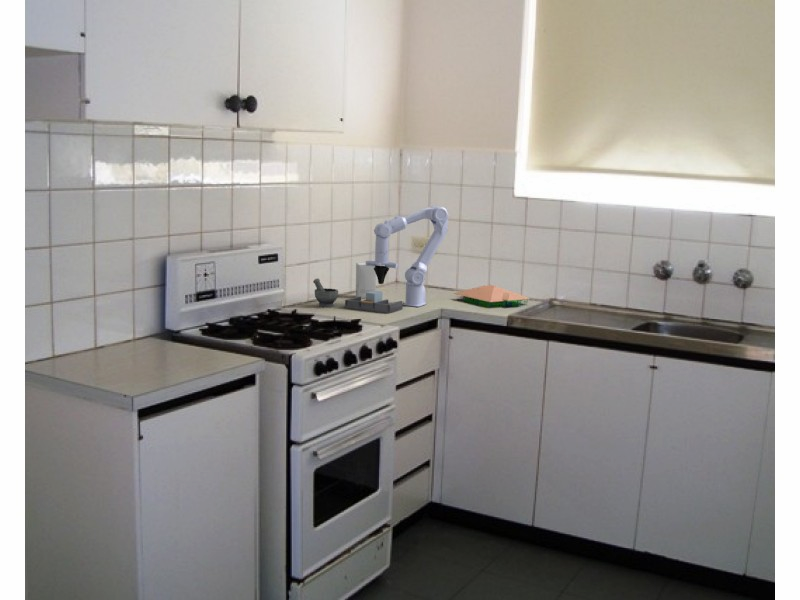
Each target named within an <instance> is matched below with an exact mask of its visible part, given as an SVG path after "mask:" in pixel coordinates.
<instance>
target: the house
mask: <svg viewBox="0 0 800 600" xmlns="http://www.w3.org/2000/svg"><path fill="white" fill-rule="evenodd" d="M453 294H454V295H457V296H458V295H459V296H463V298H464V299H463V301H464V302H468V303H471V304H472V302H473V300H474V303H476V305H477V306H479V305H481V307H484V305H485V303H486V306H487V308H488V309H489V308H490V309H492V307H495V306H496V308H502V305H503V307H506V305H507V307H508V308H513V307H514V304H515V307H519V306H522V302H523V306H525V304H526V305H527V302H526V300H530V298H529V297H527V296H524V295H522V294H519V293H516V292H512V291H510V290H507V289H505V288H502V287H498V286H496V285H492V284H488V285H481V286H478V287H473V288H470V289H464V290H461V291H458V292H454V293H453ZM465 297H466V298H465ZM470 298H471V299H470ZM478 301H479V302H478ZM499 305H500V306H499Z"/></svg>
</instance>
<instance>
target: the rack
mask: <svg viewBox="0 0 800 600" xmlns="http://www.w3.org/2000/svg"><path fill="white" fill-rule="evenodd" d="M402 304H403V300H399V301H395V302H392V303H389V299H387V298H386V299H382V301H379V302H375V303H374V302H372V301H366V299H364V300H363V299H362V298H361V297H360V296H359V297H356V296H355V297H351V298H348V299H345V300H344V309H349V310H355V311H356V310H357V311H364V312H365V311H366V312H372V313H373V312H374V313H381V314H382V313H383V314H393V313H395V312H399V311H402V310H403V309H404V308H403V305H402Z"/></svg>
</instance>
